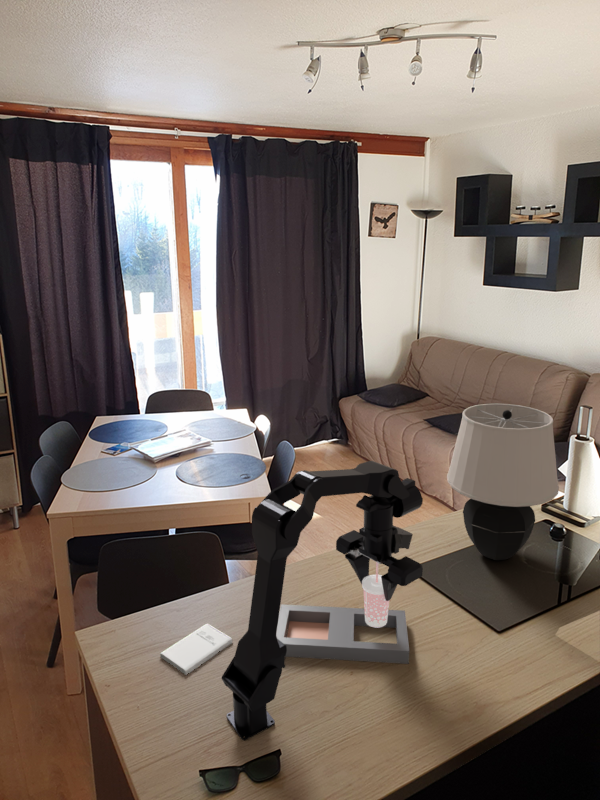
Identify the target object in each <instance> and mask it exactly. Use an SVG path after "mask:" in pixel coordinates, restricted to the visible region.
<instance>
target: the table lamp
mask: <svg viewBox="0 0 600 800" xmlns="http://www.w3.org/2000/svg"><path fill="white" fill-rule="evenodd" d="M555 449H556V447H555V437H554V419H553V416H552V415H550V414H548V413H547V412H545V411H542V410H540V409H537V408H533V407H530V406H525V405H519V404H509V403H484V404H483V403H482V404H476V405H473V406H472V405H471V406H469V407H467V408H465V409H464V410H463V411H462V418H461V421H460V425H459V429H458V433H457V436H456V440H455V445H454V448H453V453H452V457H451V460H450V461H451V462H450V464H449V469H448V472H447V474H446V479H447V483H448V484H449V486H450V487H451V489H453V490H454V491H456V492H457V493H458V494H459V495H462V496H464V497H466V498H469V499H467V501H465V503H464V506H463V509H462V517H463V523H464V527H465V530H466V532H467V533H466V534H467V535H468V537H469V539H470V541H471V542H472V544H473V545H474V546H475V548H476V550H477V551H478V552H479V553H480V554H481V555H482V556H483V557H485V558H488V559H489V560H490V559H491V560H493V561H505V560H506V561H507V559H511V558H512V557H513V556H515V555H516V554H517V553H518V552H519V551H520V550H521V549H522V548H523V546H525V544H526V543H527V541H528V540H529V538H530V537H531V534H532V532H533V530H534V526H535V523H536V515H535V511H534V509H533V508H532V507H533V506H538V505H544V504H546V503H549V502H550V501H552V500H554V498H556V497H557V496H558V494H559V490H560V486H559V482H558V481H559V480H558V472H557V460H556V458H557V457H556V450H555Z"/></svg>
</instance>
